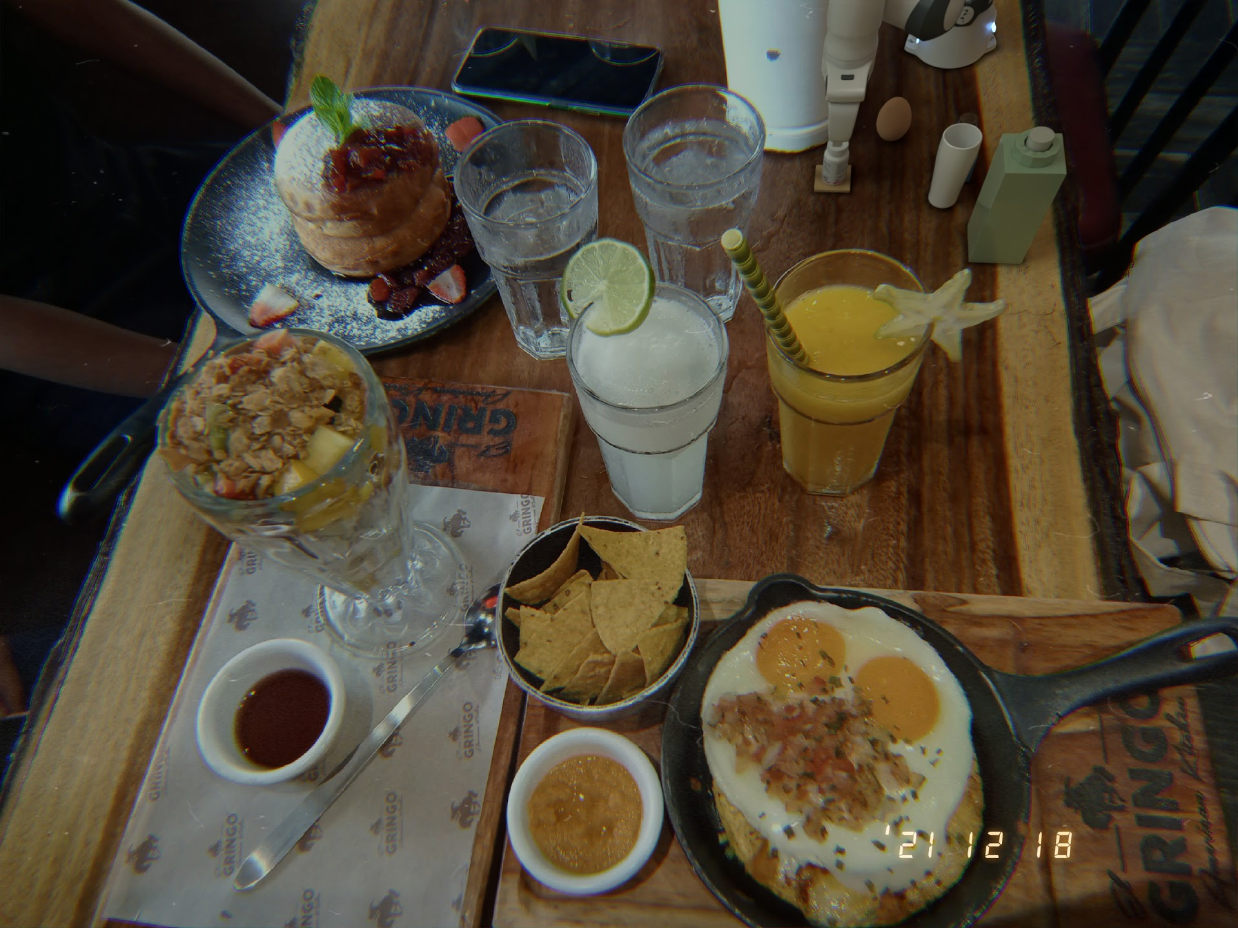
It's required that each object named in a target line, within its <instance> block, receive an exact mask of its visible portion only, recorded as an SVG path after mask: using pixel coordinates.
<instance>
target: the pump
mask: <svg viewBox="0 0 1238 928" xmlns="http://www.w3.org/2000/svg"><path fill="white" fill-rule="evenodd" d="M1031 129H1032V130H1031V131H1030V134H1029V136H1028V138H1027V141H1026V143H1025V145H1026V147H1027V148H1028V149H1029V150H1031V151H1034V152H1045V151H1047V150H1048V149H1049V148H1050V145H1051V143H1052V141H1053V139H1054V137H1055V134H1054V133H1055V131H1054V130H1053V129H1052V128H1050V127H1047V126H1041V125H1040V126H1036V127H1033V128H1031Z"/></svg>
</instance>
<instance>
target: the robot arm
mask: <svg viewBox="0 0 1238 928" xmlns="http://www.w3.org/2000/svg"><path fill="white" fill-rule="evenodd" d="M994 1H995V0H829V2H828V8H827V16H826V25H827V33H826V36H825V38H824V42H823V50H822V61H821V67H820V68H821V73H822V75H823V76H822V77H823V80H824V87H825V89H824V90H825V95H824V96H825V101H826V102H827V105H828V107H827V109H828V110H827V112H828V113H827V114H828V115H827V116H828V117H827V120H828V121H827V134H828V135H827V136H828V141H831V142H833V143H832V146H833V147H841V146H842V144H843V142H847V141H848V142H850V139H851V138H852V135H853V131H854V128H855V125H856V121H857V116H858V114H859V108H860V104H861V102H862V103H863V102H864V101H865V98H866V93H867V87H868V83H869V80H870V79H871V76H872V74H873V72H874V68H875V63H876V58H877V57H876V56H877V51H878V48H879V29H880V27H881V25H882V22H884V23H886V24H889V25H890V26H893V27H896V28H899V29H901V30H902V31H904V32H906V33H907V38H906V41H905V45H904V51H906V52H908V53H910V54H912V55H914V56H916V57H918V59H920V60H921V61H922V62H924V63H925V64H927V65H930V66H932V67H934V68H935V67H936V68H940V69H958V68H963V67H967V66H969V65H972V64H974V63H975V62H977V61H978V60H979V59H981V57H983V56H984V55H985V54H986V53H990V52H992V51H993V50H995V49H996V47H997V40H996V39H997V38H996V37H995V34H994V33H995V32H996V29H997V26H996V24H995V23H996V20H997V16H998V9H996V8H997V7H996V6H995V4H994Z"/></svg>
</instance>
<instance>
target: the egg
mask: <svg viewBox="0 0 1238 928" xmlns="http://www.w3.org/2000/svg"><path fill="white" fill-rule="evenodd" d="M912 115H913V113H912V109H911V106H910V103H909V102H908V100H907V99H905V98H903V97H900V96H894V97H892V98H890V99H889V100H887V101H886V102H885V103H884V105H883V106H882V107H881V108H880V109H879V111H878V115H877V117H876V123H875V126H876V131H877V133H878V135H879V137H880V138H881V139H883V140H884V141H886V142H895V141H898V140H900V139H901V138H902V137H904V136H905V134H907V132H908V131H909V128H910V126H911V123H912V118H913V117H912Z"/></svg>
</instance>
